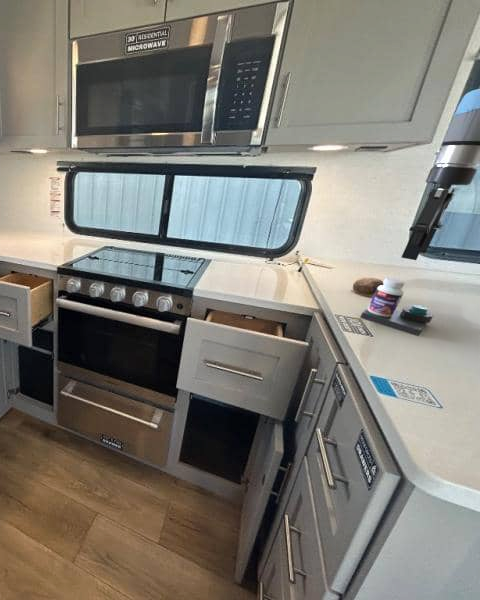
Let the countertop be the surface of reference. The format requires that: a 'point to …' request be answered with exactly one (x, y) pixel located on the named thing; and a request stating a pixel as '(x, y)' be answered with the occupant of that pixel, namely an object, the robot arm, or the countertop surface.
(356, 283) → the brown oval lump
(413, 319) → the scale
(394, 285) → the pill bottle
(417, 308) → the tare button
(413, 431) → the countertop surface
